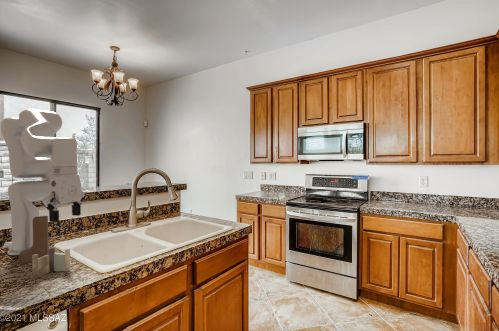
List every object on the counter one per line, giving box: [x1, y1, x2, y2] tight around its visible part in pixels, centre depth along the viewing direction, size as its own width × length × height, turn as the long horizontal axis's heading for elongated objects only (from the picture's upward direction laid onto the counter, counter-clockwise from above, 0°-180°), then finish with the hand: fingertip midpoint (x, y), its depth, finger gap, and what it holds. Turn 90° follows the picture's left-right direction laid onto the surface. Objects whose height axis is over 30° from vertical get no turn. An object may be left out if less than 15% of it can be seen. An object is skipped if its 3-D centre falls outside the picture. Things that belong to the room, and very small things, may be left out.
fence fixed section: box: [31, 246, 56, 280], centre depth 93 cm, size 8×2×9 cm, turn 173°
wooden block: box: [18, 215, 50, 265], centre depth 105 cm, size 9×4×18 cm, turn 122°
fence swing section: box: [54, 248, 71, 273], centre depth 95 cm, size 6×2×8 cm, turn 85°
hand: (65, 218), depth 95 cm, fingers open, 9 cm apart
